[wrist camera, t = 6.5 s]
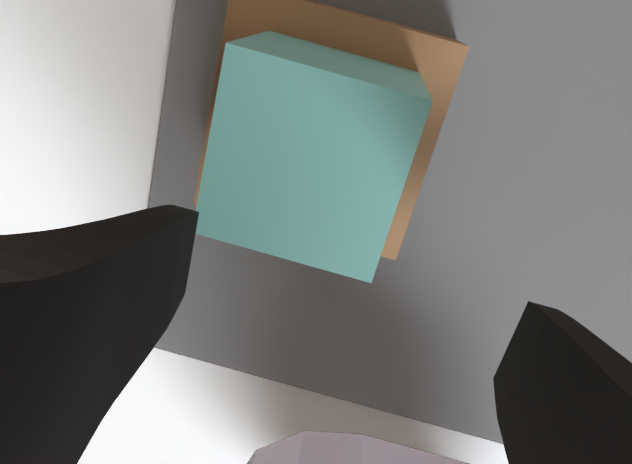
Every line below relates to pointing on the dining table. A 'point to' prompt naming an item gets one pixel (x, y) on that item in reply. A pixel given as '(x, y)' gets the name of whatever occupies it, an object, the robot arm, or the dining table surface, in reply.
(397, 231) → the walnut base
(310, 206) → the teal block
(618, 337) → the mat
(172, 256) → the robot arm
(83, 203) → the dining table surface
